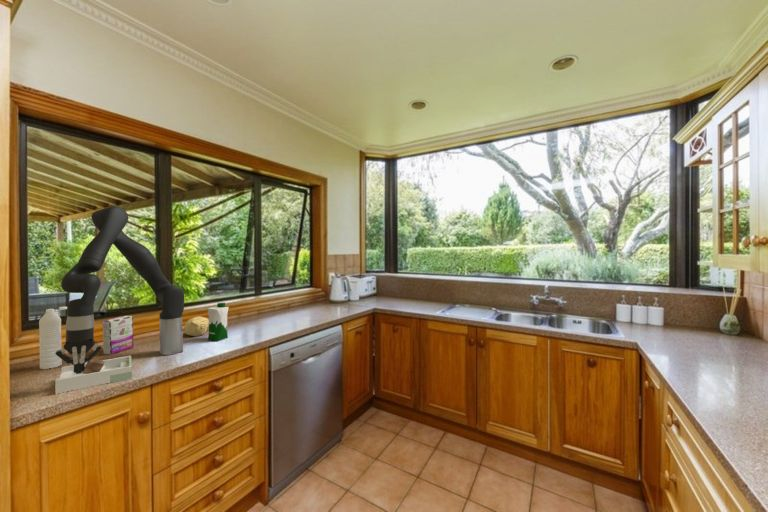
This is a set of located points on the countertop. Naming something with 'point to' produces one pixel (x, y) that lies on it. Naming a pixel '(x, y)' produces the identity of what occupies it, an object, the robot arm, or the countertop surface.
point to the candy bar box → (117, 334)
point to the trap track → (94, 375)
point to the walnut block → (93, 366)
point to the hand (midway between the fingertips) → (78, 373)
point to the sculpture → (196, 326)
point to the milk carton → (218, 322)
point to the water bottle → (50, 339)
